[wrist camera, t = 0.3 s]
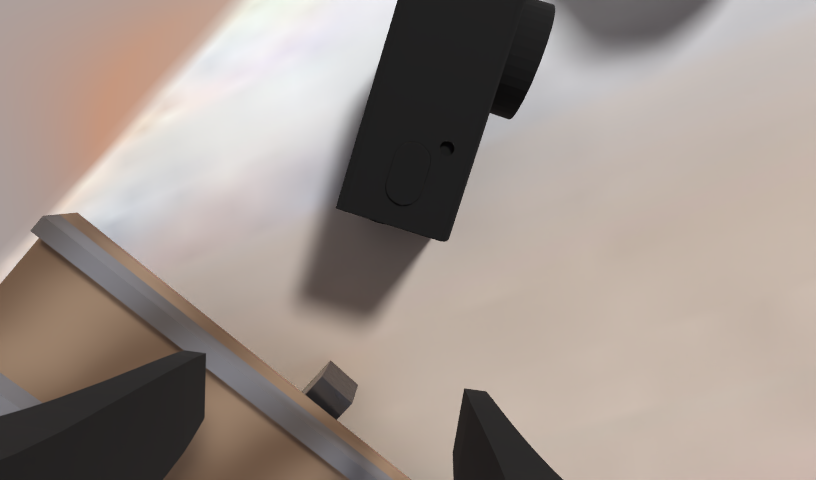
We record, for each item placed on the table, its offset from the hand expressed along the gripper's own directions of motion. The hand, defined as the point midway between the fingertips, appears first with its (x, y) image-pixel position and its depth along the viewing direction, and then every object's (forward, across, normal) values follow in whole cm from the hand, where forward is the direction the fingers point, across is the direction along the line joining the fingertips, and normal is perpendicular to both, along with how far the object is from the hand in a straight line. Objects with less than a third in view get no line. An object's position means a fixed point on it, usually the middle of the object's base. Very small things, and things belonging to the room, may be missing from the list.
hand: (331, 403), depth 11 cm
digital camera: (+12, -2, -8) cm, 15 cm away
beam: (+6, +4, +9) cm, 12 cm away
